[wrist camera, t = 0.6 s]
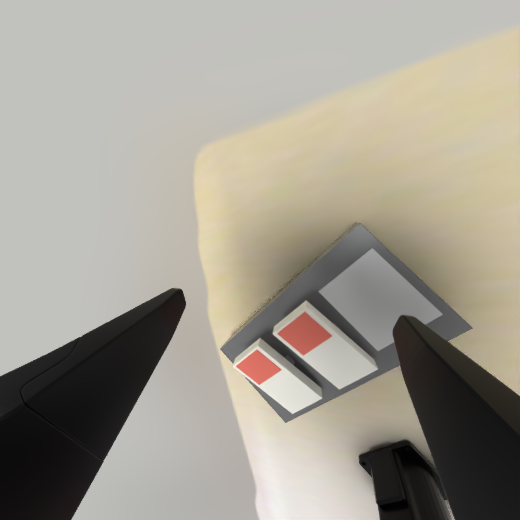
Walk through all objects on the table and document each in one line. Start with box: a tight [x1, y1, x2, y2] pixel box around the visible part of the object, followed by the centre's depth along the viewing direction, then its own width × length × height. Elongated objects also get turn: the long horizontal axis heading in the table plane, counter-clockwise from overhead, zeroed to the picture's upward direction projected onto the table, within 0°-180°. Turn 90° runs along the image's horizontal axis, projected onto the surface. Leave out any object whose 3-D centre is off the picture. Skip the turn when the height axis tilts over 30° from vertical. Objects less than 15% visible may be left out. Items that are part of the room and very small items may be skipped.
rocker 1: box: [232, 338, 322, 414], centre depth 19 cm, size 8×4×1 cm, turn 48°
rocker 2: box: [273, 301, 378, 390], centre depth 17 cm, size 8×4×1 cm, turn 47°
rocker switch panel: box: [220, 223, 472, 423], centre depth 20 cm, size 11×20×4 cm, turn 138°
